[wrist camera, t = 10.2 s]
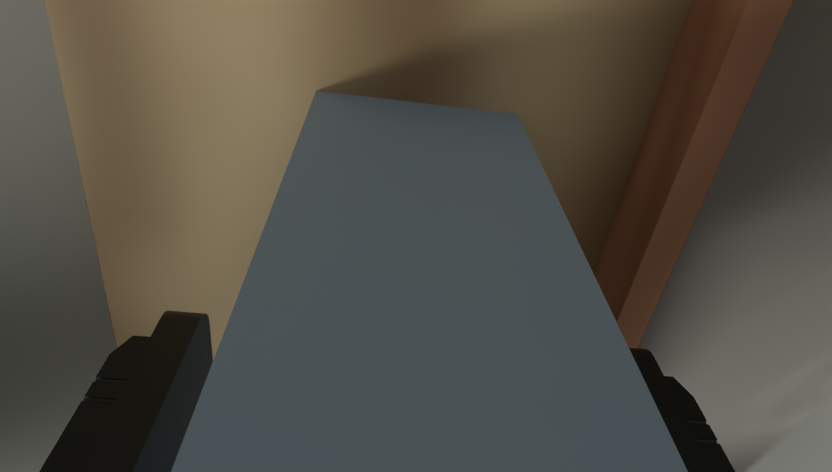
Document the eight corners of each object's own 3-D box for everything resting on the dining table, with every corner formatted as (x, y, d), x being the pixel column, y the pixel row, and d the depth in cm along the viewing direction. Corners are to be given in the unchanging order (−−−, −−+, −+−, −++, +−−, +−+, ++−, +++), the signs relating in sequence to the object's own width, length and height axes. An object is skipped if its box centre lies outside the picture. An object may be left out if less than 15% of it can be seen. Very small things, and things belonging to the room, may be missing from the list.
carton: (315, 90, 13) (153, 518, 4) (534, 116, 13) (767, 549, 5) (306, 352, 17) (215, 823, 9) (472, 365, 17) (538, 826, 9)
